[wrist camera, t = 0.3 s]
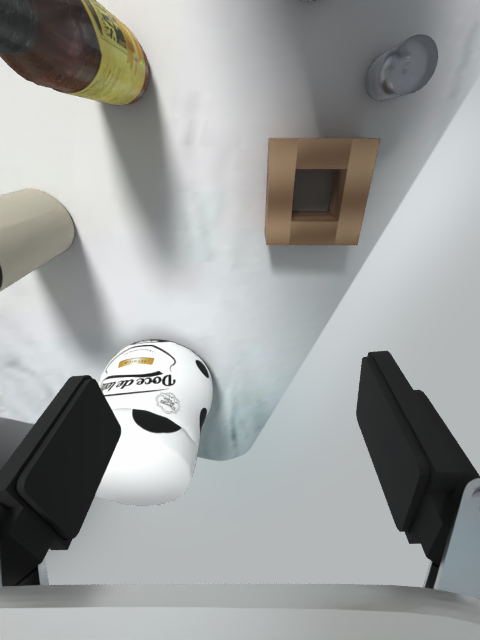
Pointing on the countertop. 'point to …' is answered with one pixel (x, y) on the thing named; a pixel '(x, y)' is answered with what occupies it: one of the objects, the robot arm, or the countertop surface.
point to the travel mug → (31, 232)
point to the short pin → (402, 68)
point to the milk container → (154, 421)
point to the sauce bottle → (73, 49)
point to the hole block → (346, 194)
